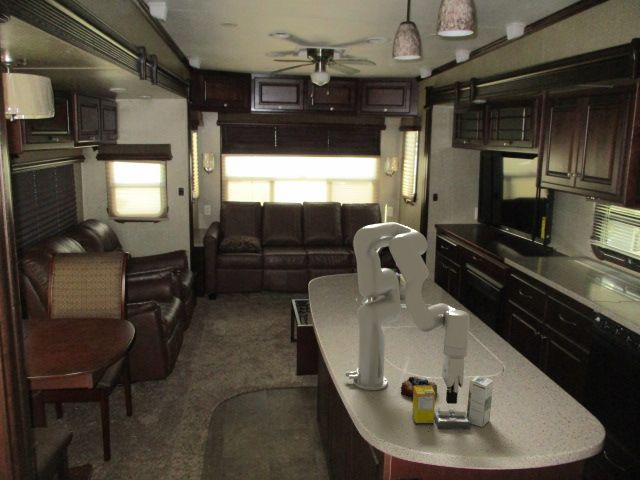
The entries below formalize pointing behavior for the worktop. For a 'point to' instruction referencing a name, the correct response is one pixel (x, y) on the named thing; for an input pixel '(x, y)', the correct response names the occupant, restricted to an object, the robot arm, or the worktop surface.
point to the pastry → (409, 385)
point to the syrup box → (479, 400)
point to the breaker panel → (451, 421)
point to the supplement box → (423, 405)
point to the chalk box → (397, 276)
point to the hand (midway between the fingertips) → (451, 402)
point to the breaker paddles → (445, 411)
